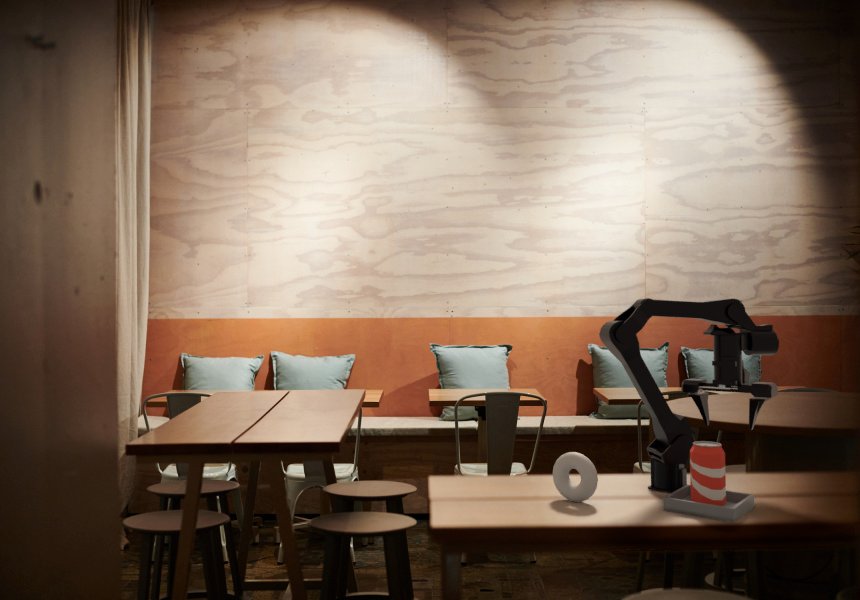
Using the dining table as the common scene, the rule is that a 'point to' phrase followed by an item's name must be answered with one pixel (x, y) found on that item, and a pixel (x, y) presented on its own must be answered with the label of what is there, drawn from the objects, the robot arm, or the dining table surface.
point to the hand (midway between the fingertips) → (728, 427)
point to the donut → (586, 472)
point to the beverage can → (707, 473)
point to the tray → (709, 505)
